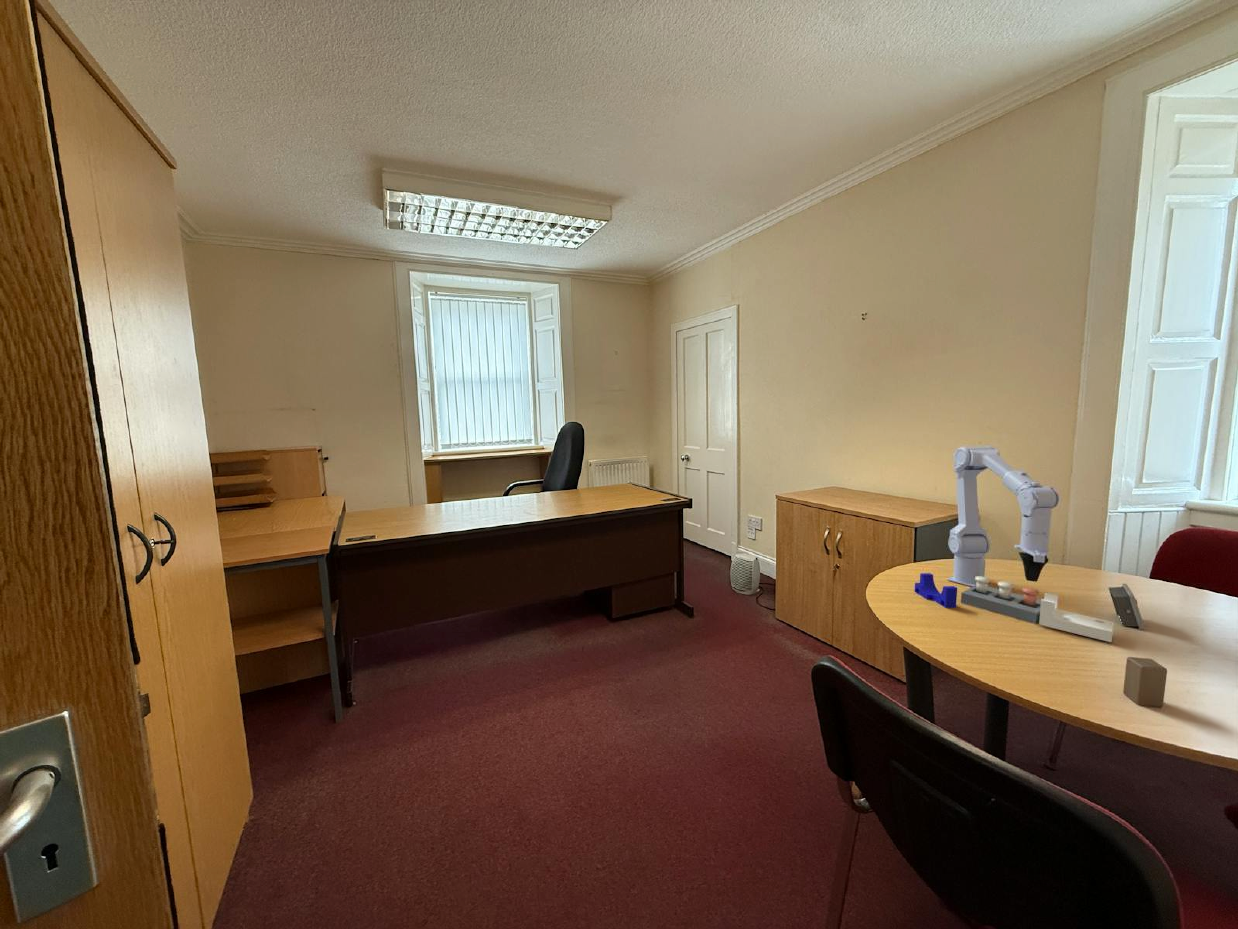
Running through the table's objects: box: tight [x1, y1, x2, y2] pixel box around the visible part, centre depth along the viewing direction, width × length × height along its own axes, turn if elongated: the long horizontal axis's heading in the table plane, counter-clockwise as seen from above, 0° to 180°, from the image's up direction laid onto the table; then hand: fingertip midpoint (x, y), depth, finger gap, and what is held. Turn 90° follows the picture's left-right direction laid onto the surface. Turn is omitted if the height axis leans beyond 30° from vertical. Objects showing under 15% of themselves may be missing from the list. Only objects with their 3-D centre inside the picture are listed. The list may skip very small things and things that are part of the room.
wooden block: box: [1122, 656, 1168, 708], centre depth 92 cm, size 4×4×8 cm
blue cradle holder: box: [913, 572, 958, 609], centre depth 141 cm, size 12×4×6 cm, turn 0°
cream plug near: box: [975, 576, 991, 593], centre depth 138 cm, size 3×3×4 cm
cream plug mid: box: [997, 581, 1014, 599], centre depth 134 cm, size 3×3×4 cm
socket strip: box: [960, 585, 1041, 625], centre depth 134 cm, size 11×17×3 cm, turn 33°
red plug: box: [1021, 587, 1040, 605], centre depth 129 cm, size 3×3×4 cm
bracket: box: [1038, 592, 1115, 643], centre depth 120 cm, size 13×7×8 cm, turn 42°
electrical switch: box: [1108, 583, 1145, 630], centre depth 124 cm, size 9×5×9 cm, turn 141°
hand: (1031, 580), depth 129 cm, fingers closed
